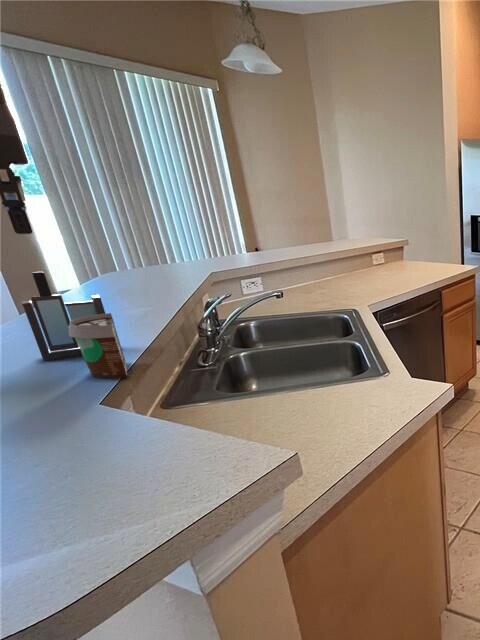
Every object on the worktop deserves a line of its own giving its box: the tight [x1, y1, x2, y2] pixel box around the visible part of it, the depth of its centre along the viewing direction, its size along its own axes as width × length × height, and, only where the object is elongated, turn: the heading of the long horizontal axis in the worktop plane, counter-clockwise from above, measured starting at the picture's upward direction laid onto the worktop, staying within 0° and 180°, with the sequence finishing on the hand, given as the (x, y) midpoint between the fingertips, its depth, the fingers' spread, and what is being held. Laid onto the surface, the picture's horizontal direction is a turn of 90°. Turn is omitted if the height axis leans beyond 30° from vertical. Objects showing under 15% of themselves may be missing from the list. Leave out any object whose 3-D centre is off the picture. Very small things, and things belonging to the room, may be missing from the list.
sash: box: [30, 271, 79, 351], centre depth 87 cm, size 4×1×15 cm, turn 136°
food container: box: [68, 313, 128, 380], centre depth 81 cm, size 12×6×10 cm, turn 40°
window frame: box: [21, 294, 106, 362], centre depth 90 cm, size 11×3×12 cm, turn 136°
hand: (24, 232), depth 82 cm, fingers open, 8 cm apart
